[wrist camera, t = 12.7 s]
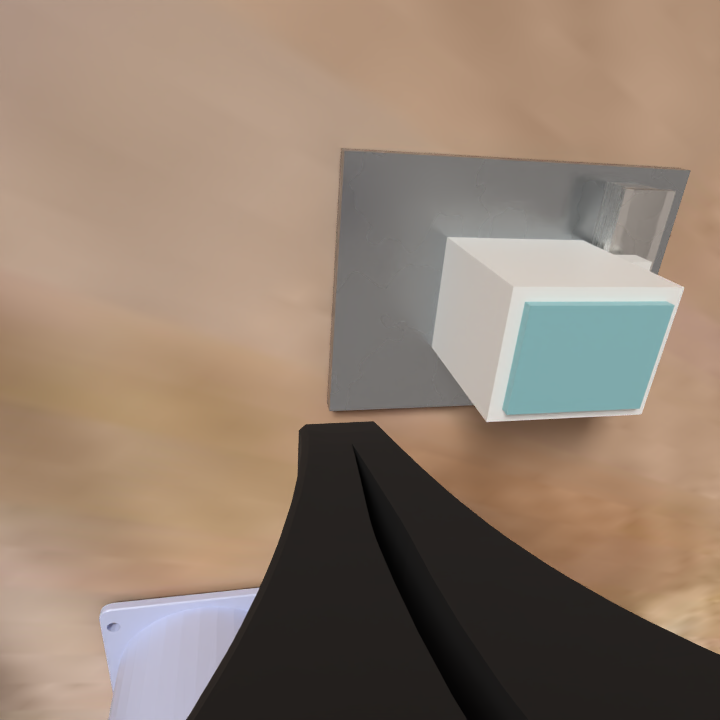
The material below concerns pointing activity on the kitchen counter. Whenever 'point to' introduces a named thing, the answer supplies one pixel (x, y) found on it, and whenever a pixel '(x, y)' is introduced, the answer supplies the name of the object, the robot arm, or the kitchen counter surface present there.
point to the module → (551, 327)
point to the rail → (632, 219)
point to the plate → (441, 254)
